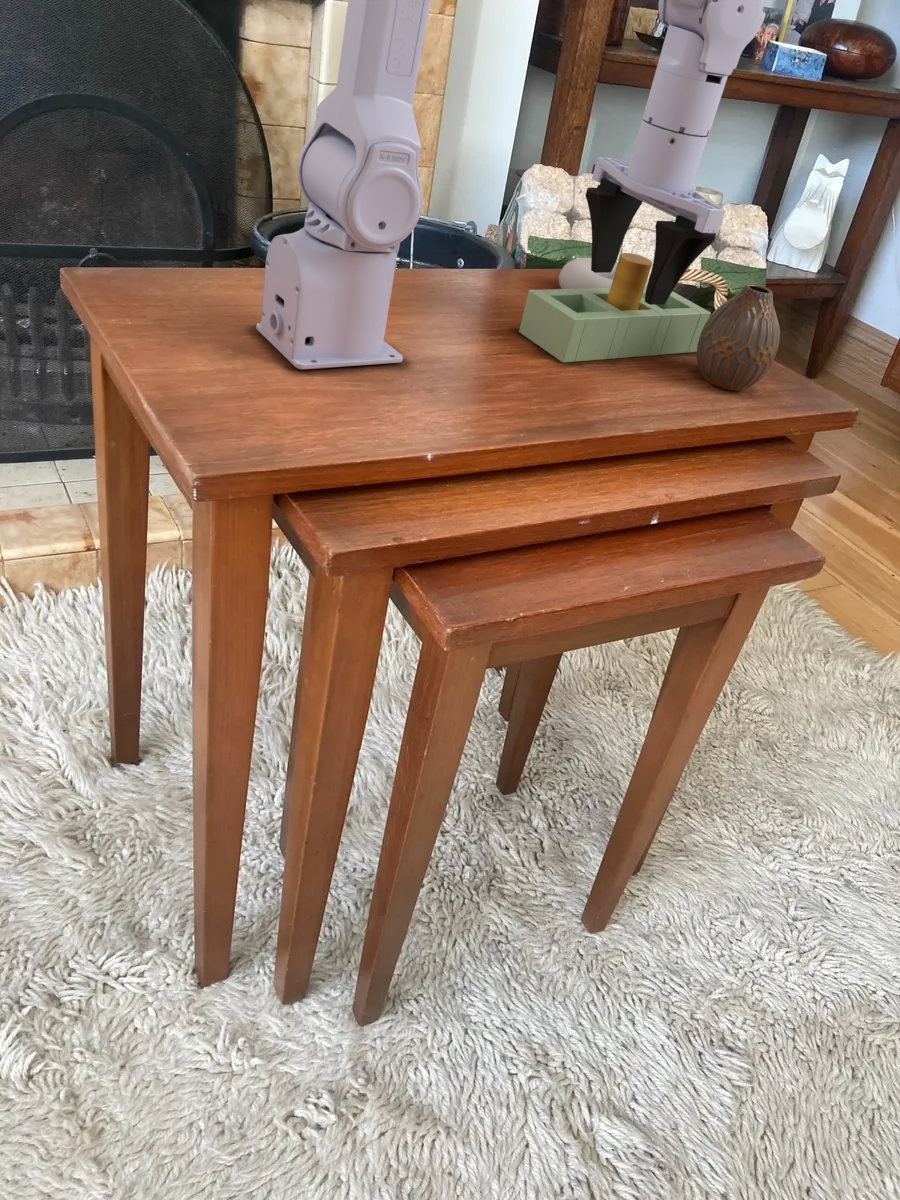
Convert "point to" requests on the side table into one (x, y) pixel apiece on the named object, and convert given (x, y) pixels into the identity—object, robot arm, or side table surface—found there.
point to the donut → (584, 276)
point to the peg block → (609, 325)
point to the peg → (629, 281)
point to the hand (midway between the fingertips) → (627, 286)
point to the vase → (739, 340)
